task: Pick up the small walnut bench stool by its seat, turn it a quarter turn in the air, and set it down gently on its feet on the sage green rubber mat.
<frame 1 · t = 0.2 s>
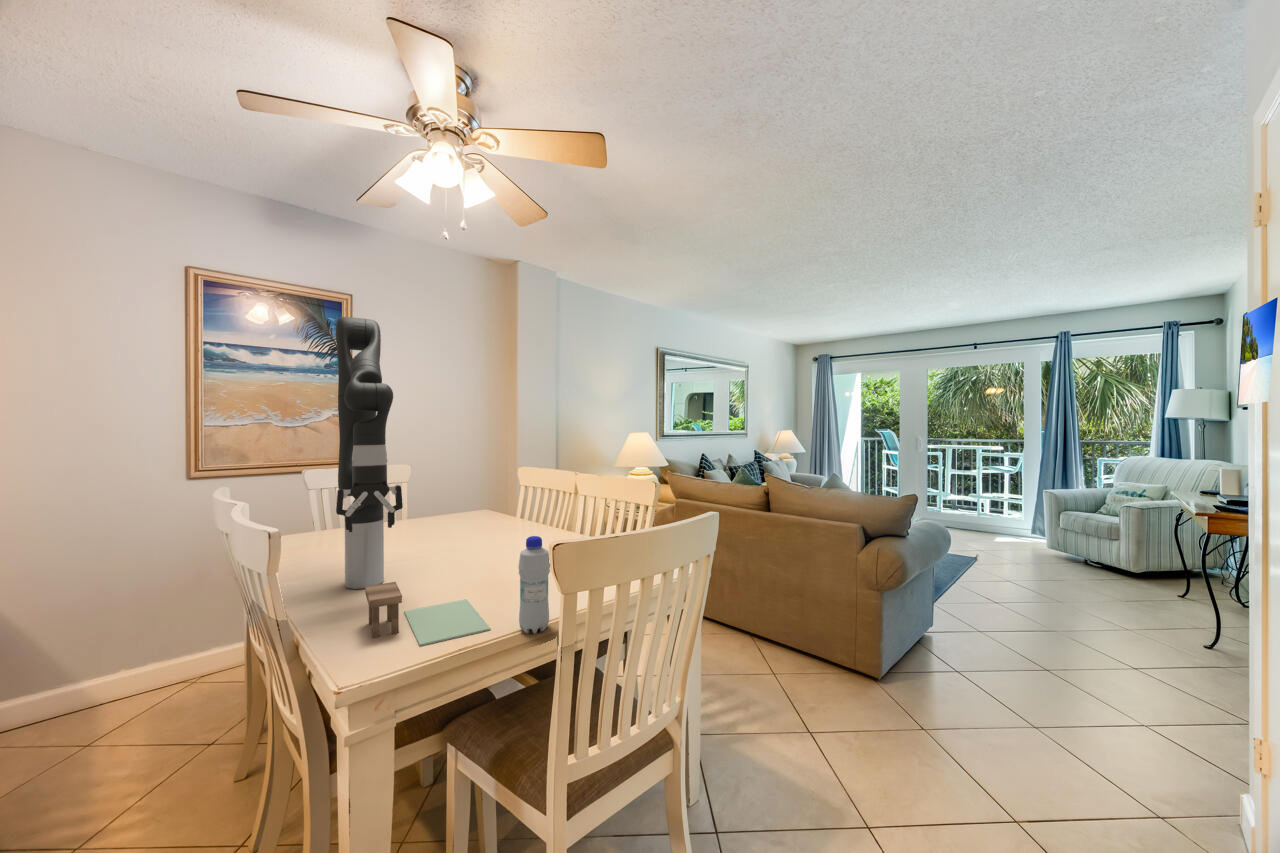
hand: (370, 529, 122), 18 cm above the table, tool pointing down, fingers open, 8 cm apart
stool: (383, 627, 107), on the table
mat: (445, 621, 110), on the table
bottle: (534, 630, 106), on the table
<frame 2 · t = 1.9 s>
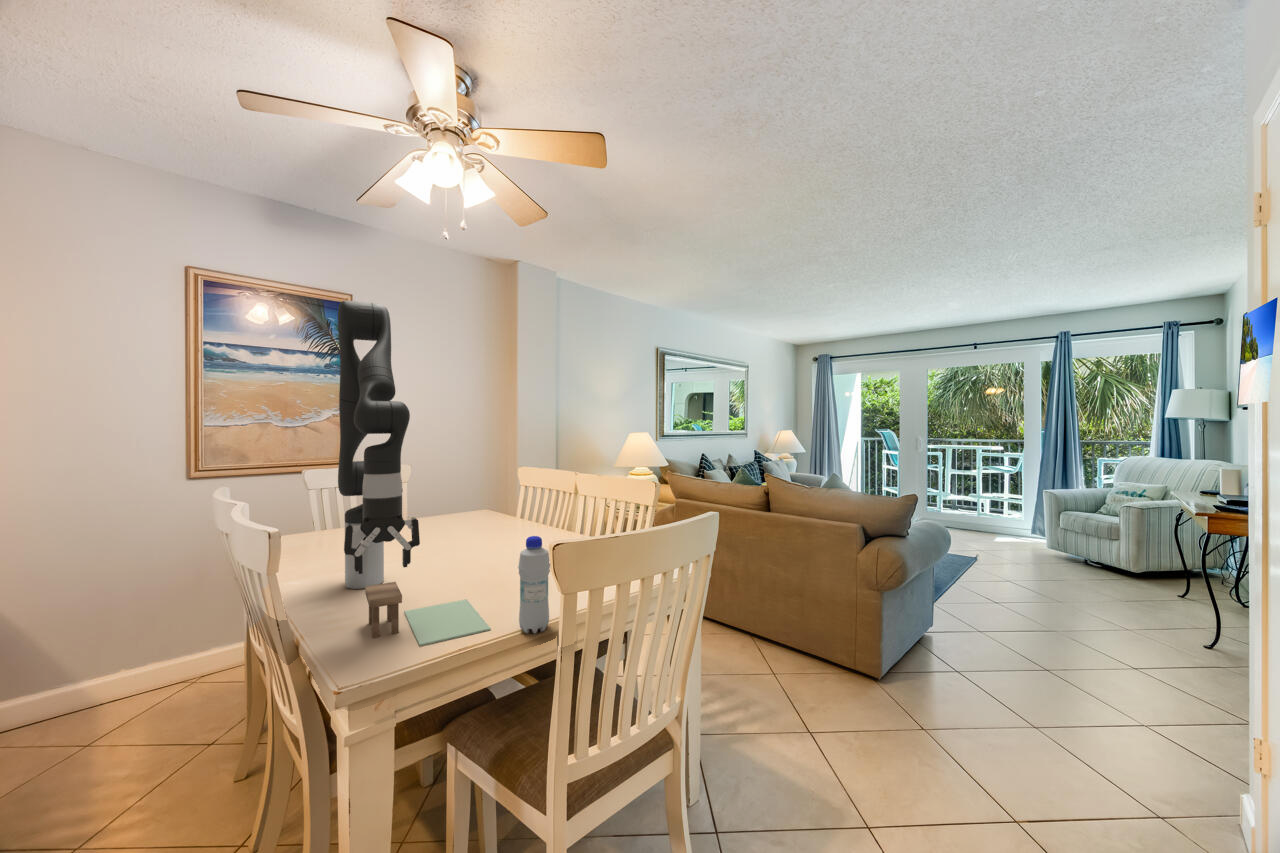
hand: (383, 569, 106), 13 cm above the table, tool pointing down, fingers open, 8 cm apart
nothing on the table moved.
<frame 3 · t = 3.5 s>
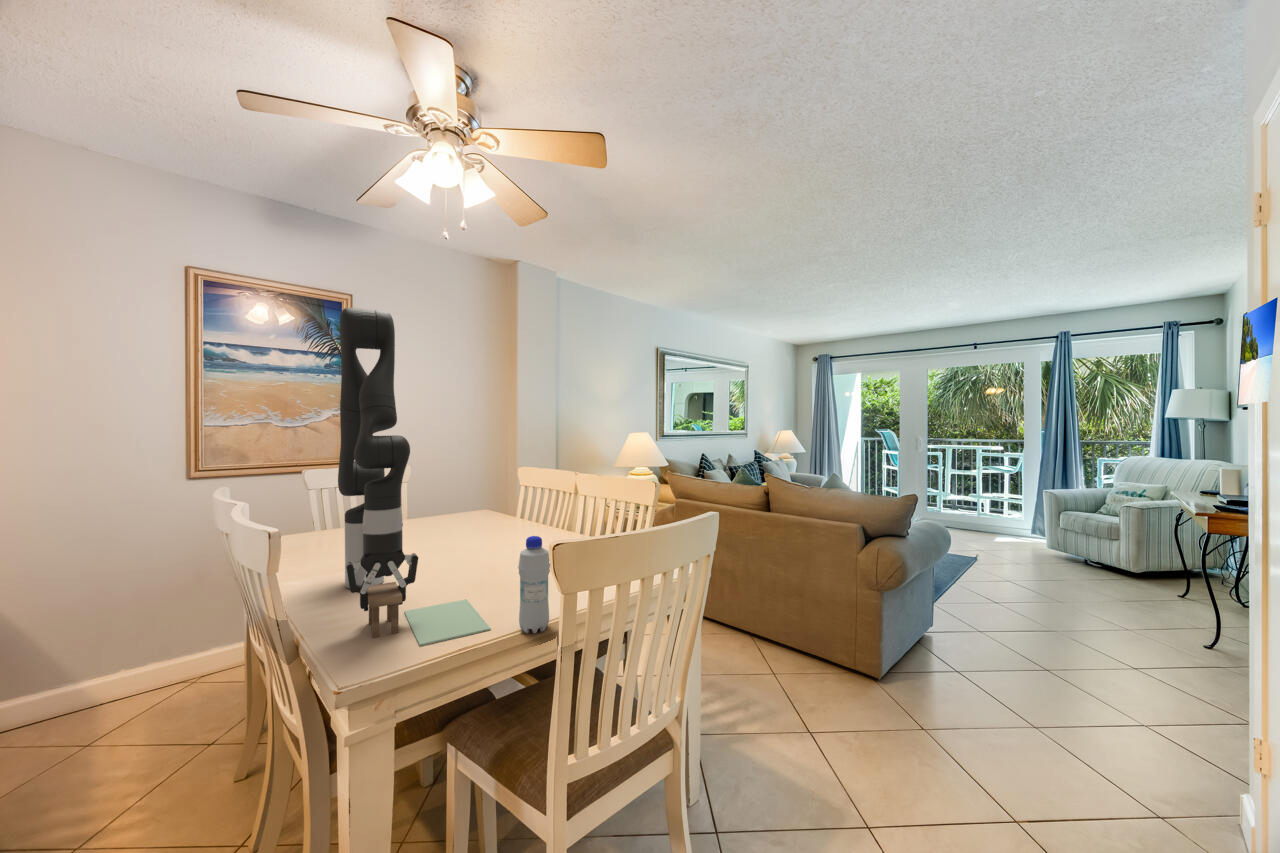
hand: (383, 606, 106), 5 cm above the table, tool pointing down, fingers closed on stool, 6 cm apart
stool: (383, 627, 107), on the table, touching gripper
everything else where it was.
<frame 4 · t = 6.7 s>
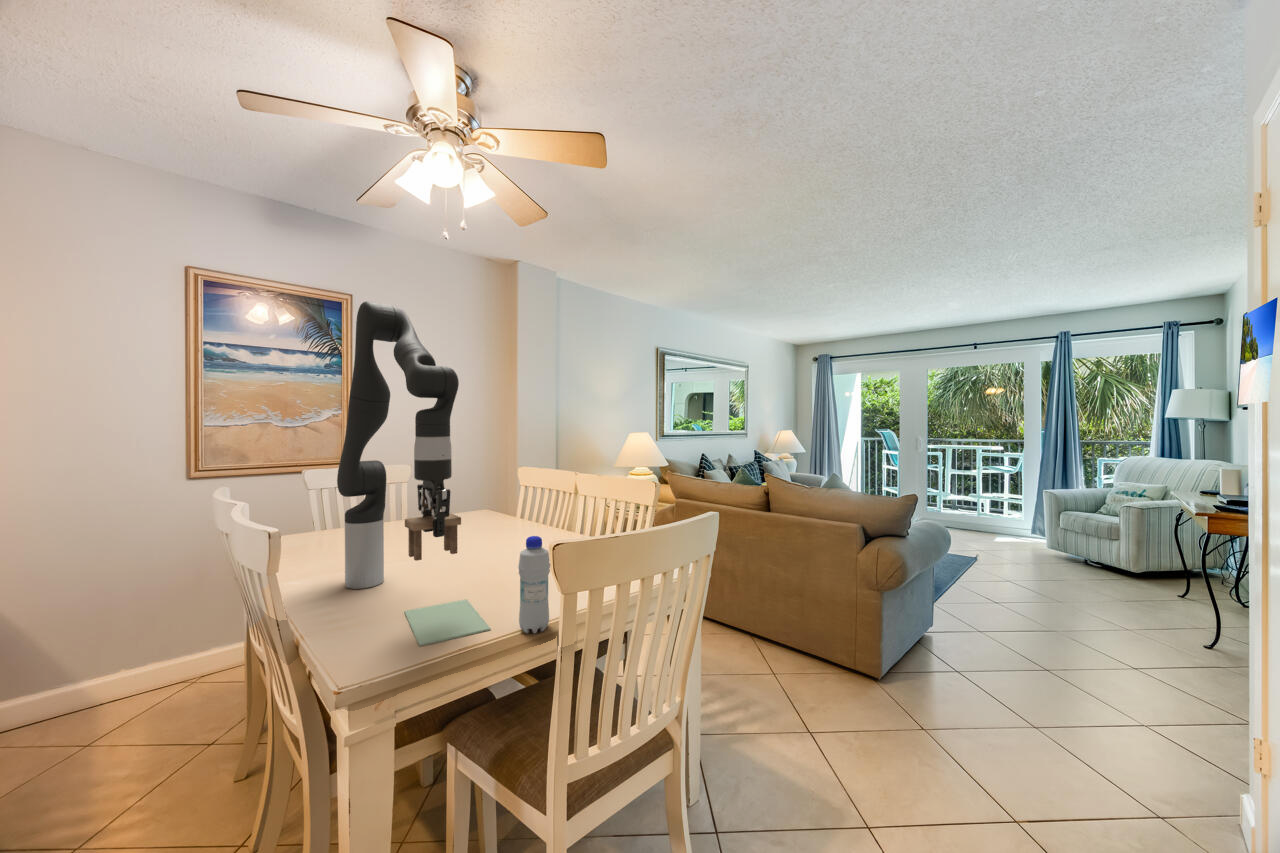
hand: (433, 533, 109), 20 cm above the table, tool pointing down, fingers closed on stool, 6 cm apart
stool: (433, 554, 109), point 15 cm above the table, touching gripper
everything else where it was.
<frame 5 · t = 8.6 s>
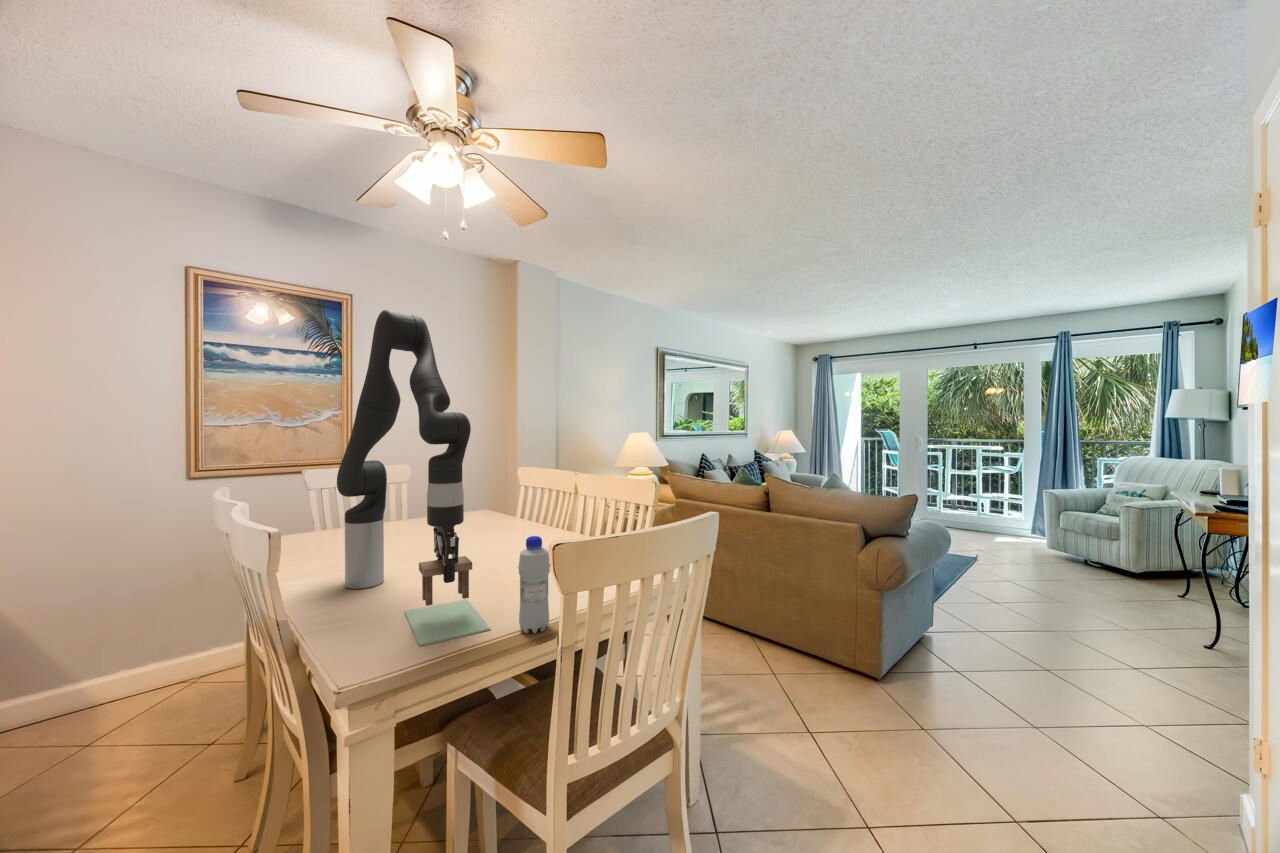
hand: (445, 577, 110), 10 cm above the table, tool pointing down, fingers closed on stool, 6 cm apart
stool: (445, 598, 110), point 5 cm above the table, touching gripper
everything else where it was.
when the fingers open (6 cm above the table, at t = 10.3 s): stool stays where it is, resting on mat.
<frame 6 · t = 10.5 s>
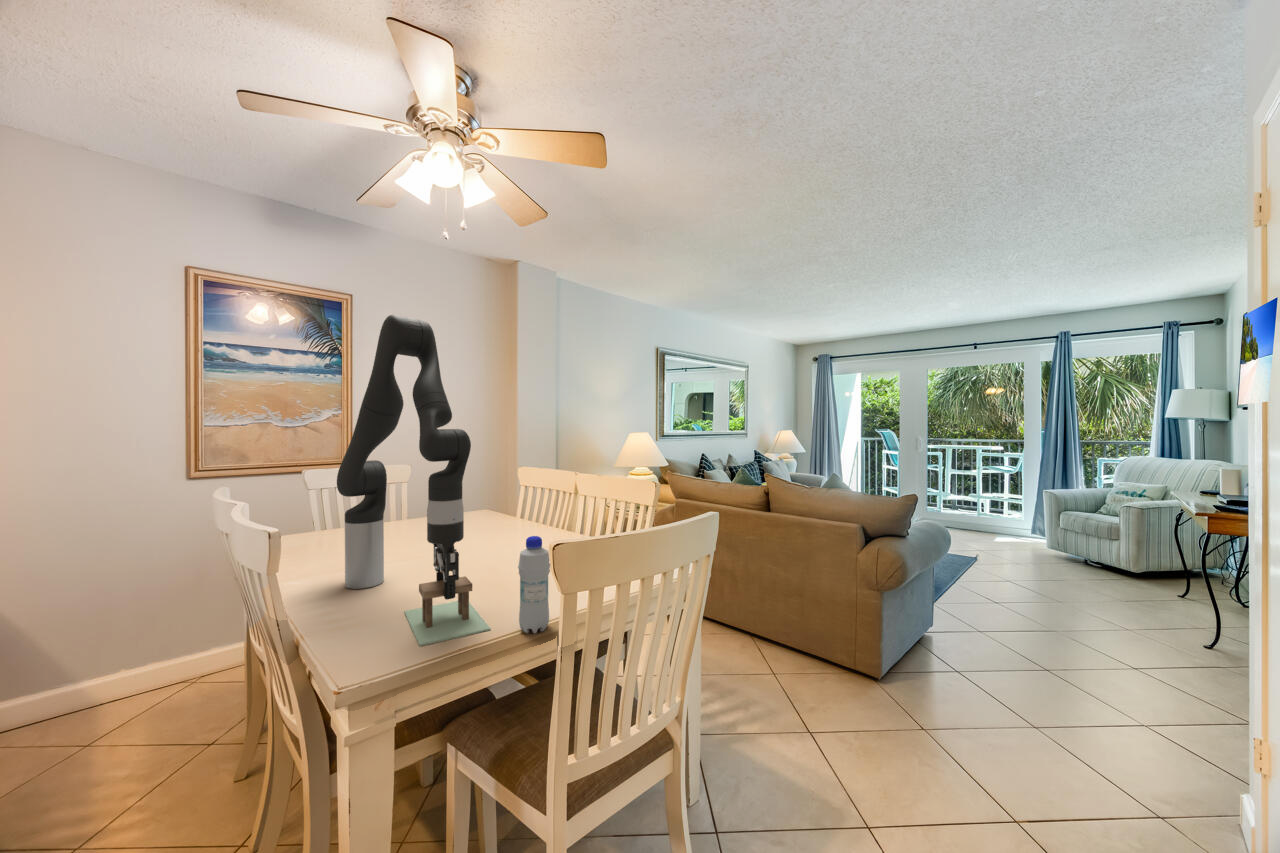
hand: (445, 592, 110), 6 cm above the table, tool pointing down, fingers open, 7 cm apart
stool: (445, 619, 110), resting on mat
everything else where it was.
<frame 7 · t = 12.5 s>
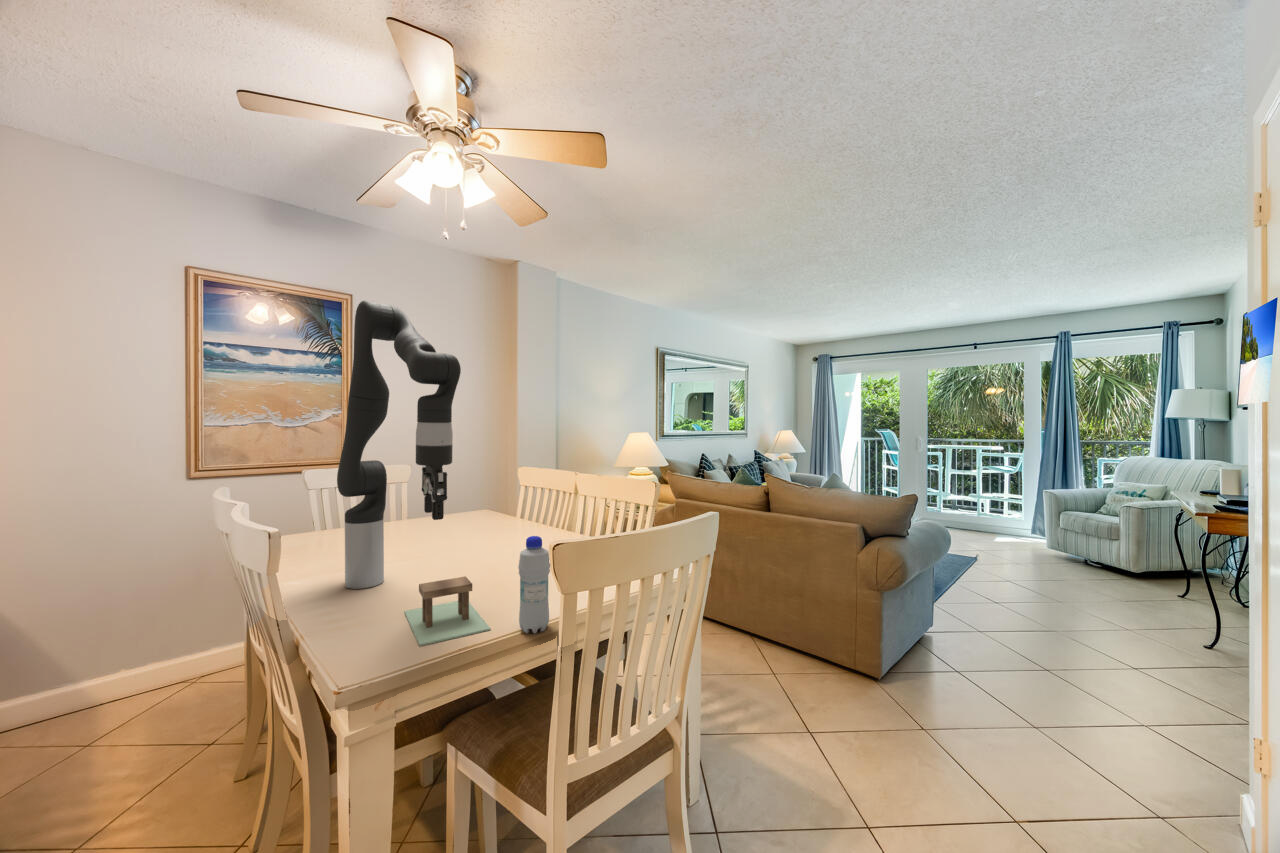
hand: (433, 515, 110), 23 cm above the table, tool pointing down, fingers open, 8 cm apart
nothing on the table moved.
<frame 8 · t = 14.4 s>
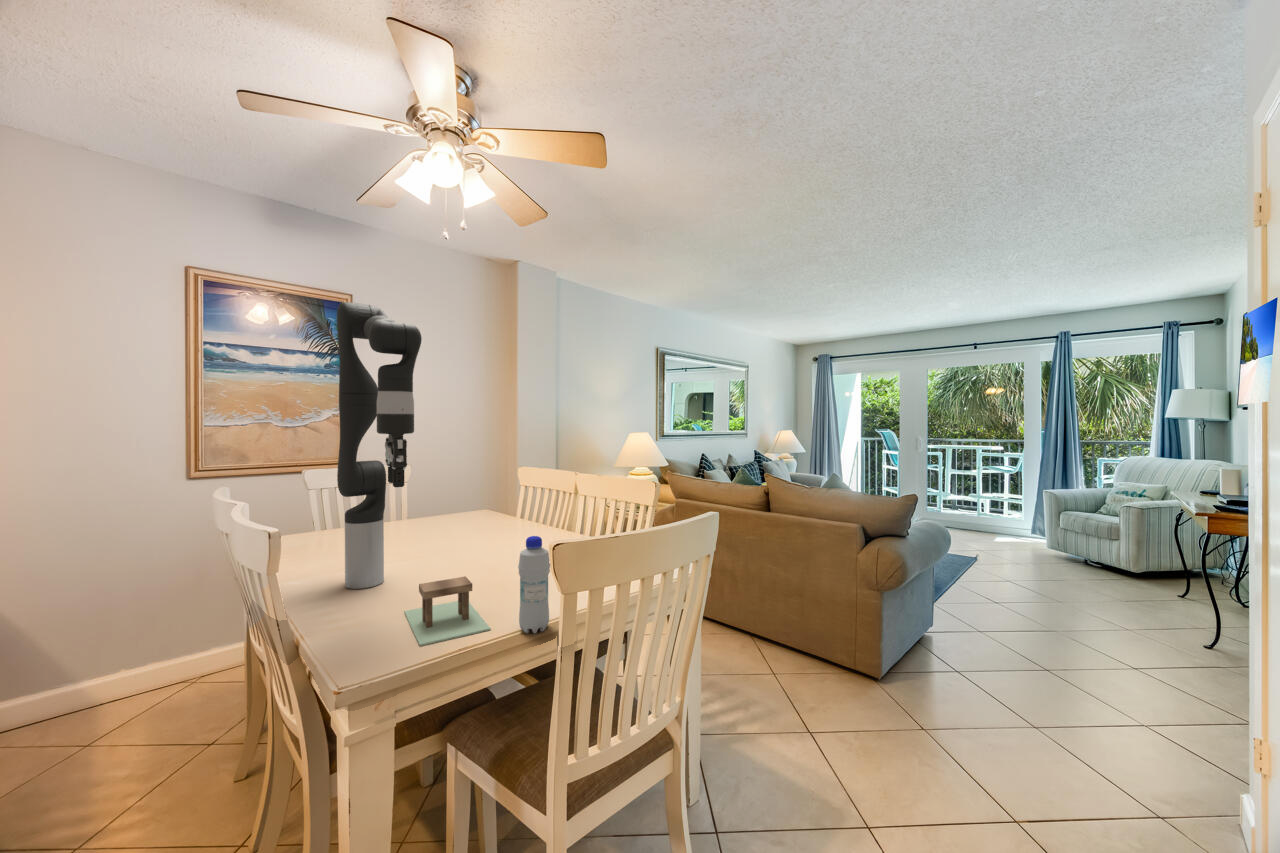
hand: (395, 484, 111), 30 cm above the table, tool pointing down, fingers open, 8 cm apart
nothing on the table moved.
at the end: stool inside the target area on the mat (0.3 cm from its centre), point 0.4 cm above the mat's base; stool tilted 0°; the gripper is holding nothing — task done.
